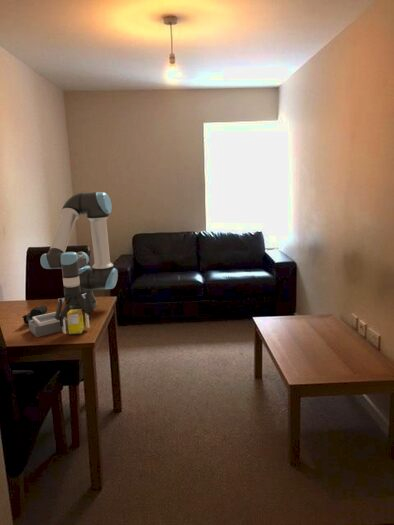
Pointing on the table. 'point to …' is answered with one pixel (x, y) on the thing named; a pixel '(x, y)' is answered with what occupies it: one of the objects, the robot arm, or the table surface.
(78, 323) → the supplement box
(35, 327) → the grey tray
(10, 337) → the table surface
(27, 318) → the night vision scope
